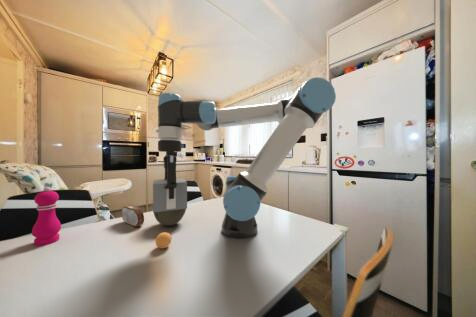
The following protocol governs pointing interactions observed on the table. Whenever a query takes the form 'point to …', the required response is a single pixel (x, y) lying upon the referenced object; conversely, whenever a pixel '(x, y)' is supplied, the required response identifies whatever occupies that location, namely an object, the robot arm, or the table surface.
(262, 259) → the table surface
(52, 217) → the pepper mill
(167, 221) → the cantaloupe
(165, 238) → the ball
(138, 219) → the tin
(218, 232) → the table surface
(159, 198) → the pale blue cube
